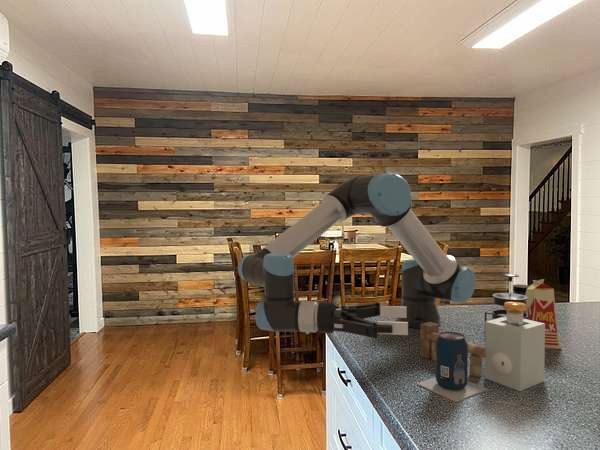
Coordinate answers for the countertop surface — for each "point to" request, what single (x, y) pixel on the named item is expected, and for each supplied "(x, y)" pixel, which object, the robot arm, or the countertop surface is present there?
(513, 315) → the gauge knob
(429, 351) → the handrail
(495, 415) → the countertop surface
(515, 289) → the supplement container
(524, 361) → the cabinet
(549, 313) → the milk carton
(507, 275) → the french press
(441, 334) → the soda can
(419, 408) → the countertop surface
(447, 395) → the mat
